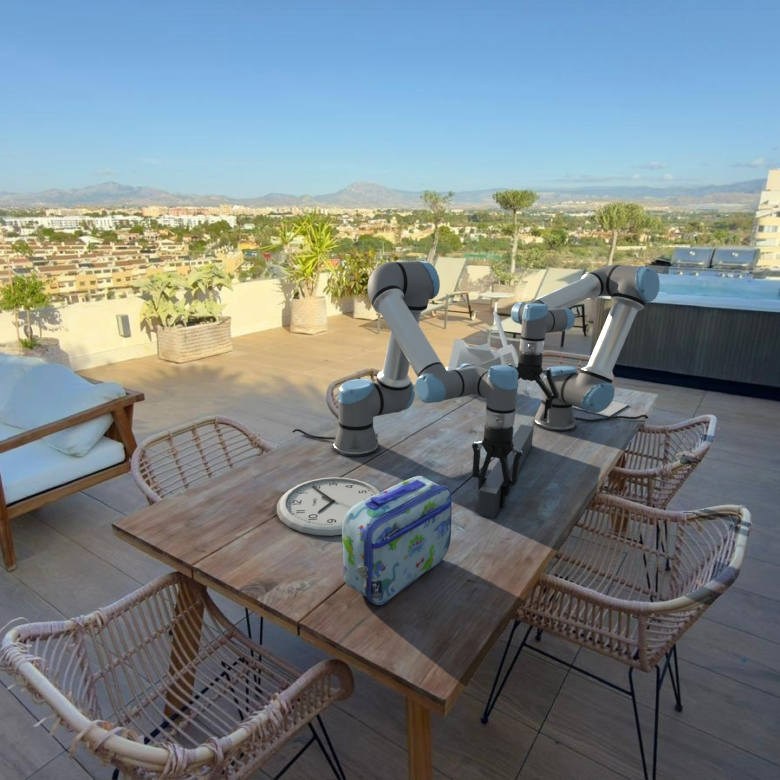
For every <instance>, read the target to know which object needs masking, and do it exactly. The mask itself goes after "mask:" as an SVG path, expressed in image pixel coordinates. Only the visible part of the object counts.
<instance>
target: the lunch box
mask: <svg viewBox="0 0 780 780" xmlns="http://www.w3.org/2000/svg"><path fill="white" fill-rule="evenodd" d="M452 511H453V510H452V491H451V489H450V487H449V486H447V485H444V484H442V485H440V484H437V483H436V482H434V481H432V480H430V479H428V478H427V477H425V476H422V475H416V476H413V477H411V478H408V479H406V480H403V481H401V482H399V483H397V484H395V485H393V486H390V487H388V488H386V489H384V490H382V491H381V492H380V493H378V494H376V495H374V496H372V497H370V498H368V499H366V500H364V501H362V502H360V503H358V504H356V505H354V506H353V507H352V508H351V509H350V510H349V511H348V512H347V514H346V516H345V518H344V521H343V525H342V535H341V543H342V544H341V545H342V569H343V578H344V583H345V585H346V586H347V587H349V588H351V589H352V590H354V591H356V592H357V593H360V594H361V595H362V596H363V597H365V598H367V601H369V603H372V604H373V605H376V606H383V605H385V604H386V603H388V602H389V601H390V600H391V599H392V598H394V597H395V596H396V595H397V594H399V593H400V592H401V591H403V590H404V589H406V588H407V587H408V586H410V585H411V584H413V583H414V582H416V580H417V579H418V578H420V576H422V575H423V574H425V573H426V572H428V571H430V570H432V569H433V568H435V567H436V566H438V565H439V564H440V563H441V562H442V561H443V560H444V558H445V557H446V555H447V552H448V551H449V548H450V544H451V539H452V515H453V514H452Z"/></svg>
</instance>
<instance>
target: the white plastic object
mask: <svg viewBox="0 0 780 780" xmlns="http://www.w3.org/2000/svg"><path fill="white" fill-rule="evenodd" d="M492 315H493V319H494V321H495V324H496V325H495V326H496V328H497V332H498V335H499V338H500V342H501V345H502V347H500V348H498V349H496V350H495V349H493V348H492V347H491V346H490V344H489V343H488V342H487V343H483V344H479V345H473V346H469V345H468V343H466V342H465V340H464V339H463V338H460V339H458V338H454V340H453V344H452V349H451V353H450V357H449V362H448V366H445V369H446V370H447V371H450V370H456V369H457V368H458V367H459V366H460V365H462V364H465V363H468V364H475V365H477V366H479V367H482V368H485V369H488V370H489V369H490V368H491V367H492V366H496V365H505V366H508V365H509V364H508V361H510V360H513V363H514V365H515V366H517V365H518V359H519V354H518V352H517V349H516V347H515V346H514V345H513V343H511V344H508V341H507V337H506V334H505V331H504V328H503V325H502V321H501V318H500V315H499V314H498V312H497V311H496V310H495V311H492ZM519 382H520V385H521V389H522V391H523V393H524V395H525V396H526V397H528V396H531V395H530V390H529V388H528V387H529V386H528V384H527V380H523V379H521V378H520V379H519ZM516 399H517V396H516Z"/></svg>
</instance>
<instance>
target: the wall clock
mask: <svg viewBox="0 0 780 780" xmlns="http://www.w3.org/2000/svg"><path fill="white" fill-rule="evenodd" d="M380 492H382V491H381V490H380V489H379V488H377V487H376V486H374V485H372V484H371V483H369V482H365V481H362V480H359V479H355V478H349V477H338V476H337V477H335V476H333V477H332V476H331V477H322V478H317V479H312V480H307V481H305V482H302V483H299V484H297V485H295V486H293V487H292V488H290V489H288V490H287V491H286V492H285V493H284V494H283V495H281V496H280V498H279V499H278V502H277V503H276V515H277V517H278V518H279V520H280V521H281V522H282V523H283V524H285V525H286V526H287V527H288V528H290V529H293V530H295V531H297V532H299V533H303V534H308V535H312V536H327V537H328V536H329V537H331V536H332V537H333V536H342V525H343V521H344V518H345V516H346V514H347V512H348V511H349V510H350V509H351V508H352V507H353V506H354V505H356V504H358V503H360V502H362V501H364V500H366V499H368V498H370V497H372V496H374V495H376V494H378V493H380Z"/></svg>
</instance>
